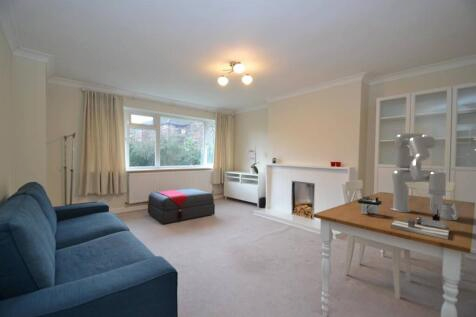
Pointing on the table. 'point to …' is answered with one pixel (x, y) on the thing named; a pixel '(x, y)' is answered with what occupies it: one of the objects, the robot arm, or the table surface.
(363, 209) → the black-topped pedestal
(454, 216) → the mug
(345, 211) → the table surface
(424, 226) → the door board
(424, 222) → the bar
